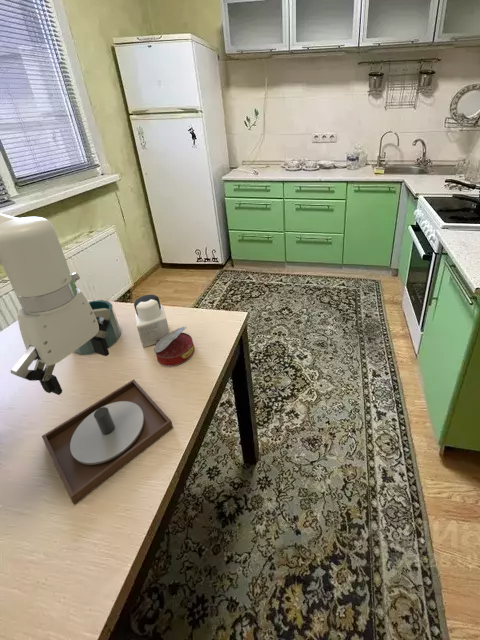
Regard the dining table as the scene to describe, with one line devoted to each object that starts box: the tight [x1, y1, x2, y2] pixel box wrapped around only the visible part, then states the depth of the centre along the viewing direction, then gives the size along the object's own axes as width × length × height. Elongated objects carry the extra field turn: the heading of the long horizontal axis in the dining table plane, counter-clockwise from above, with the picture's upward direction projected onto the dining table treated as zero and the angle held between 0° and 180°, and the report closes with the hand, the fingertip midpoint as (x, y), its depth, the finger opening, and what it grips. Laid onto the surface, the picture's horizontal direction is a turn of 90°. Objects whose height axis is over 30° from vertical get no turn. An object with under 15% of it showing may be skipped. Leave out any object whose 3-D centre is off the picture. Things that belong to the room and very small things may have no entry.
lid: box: [70, 401, 144, 465], centre depth 66 cm, size 14×14×6 cm
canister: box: [73, 299, 122, 355], centre depth 93 cm, size 13×13×10 cm
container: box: [133, 294, 171, 348], centre depth 93 cm, size 8×8×13 cm
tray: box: [41, 379, 174, 505], centre depth 67 cm, size 19×17×2 cm
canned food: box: [153, 326, 195, 367], centre depth 87 cm, size 11×10×10 cm
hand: (80, 371), depth 60 cm, fingers open, 9 cm apart
